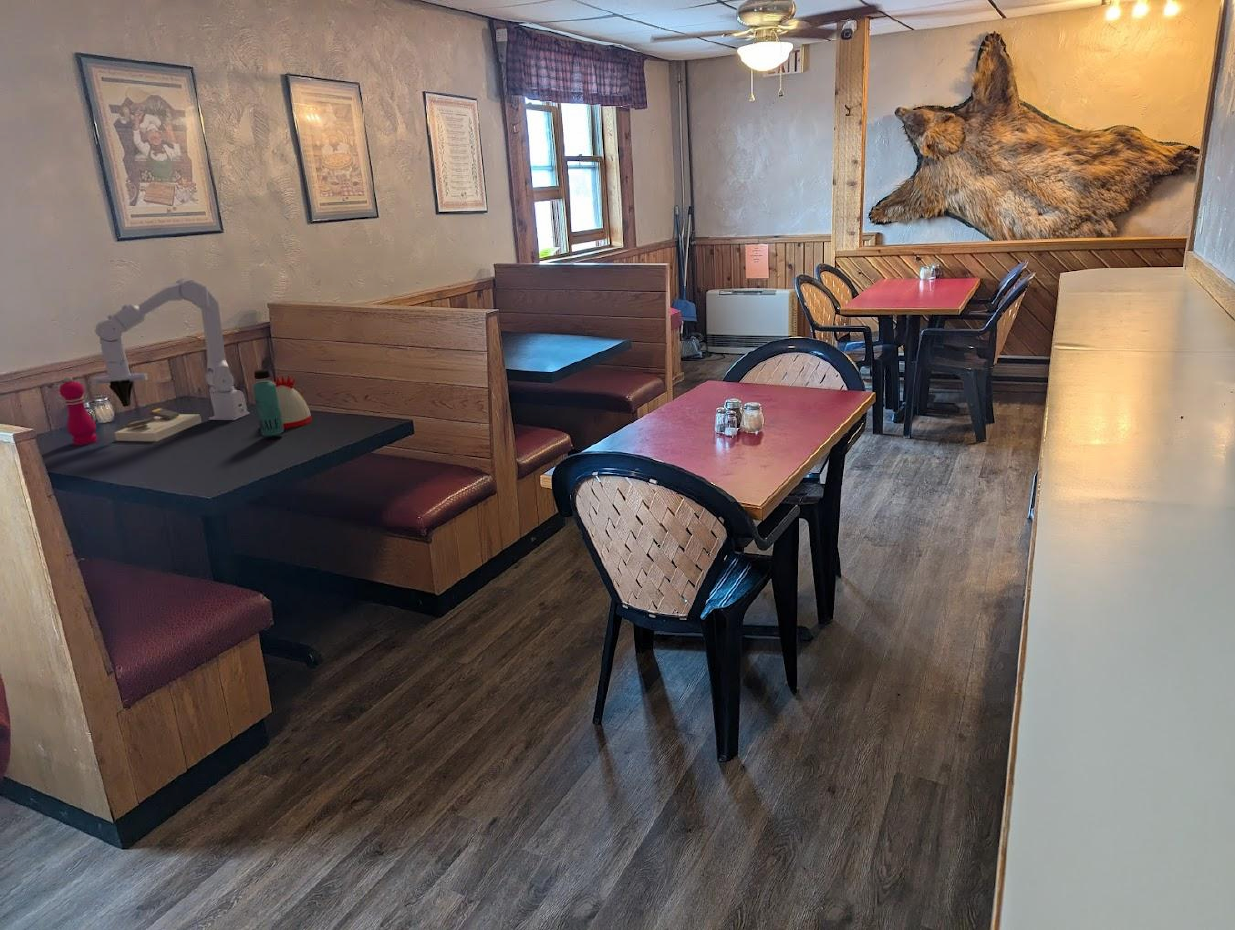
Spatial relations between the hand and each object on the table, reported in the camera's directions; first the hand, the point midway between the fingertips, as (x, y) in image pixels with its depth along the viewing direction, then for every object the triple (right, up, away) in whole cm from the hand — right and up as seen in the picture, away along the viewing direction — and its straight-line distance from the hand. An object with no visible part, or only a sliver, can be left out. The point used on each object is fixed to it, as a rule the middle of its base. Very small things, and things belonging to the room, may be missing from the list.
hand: (126, 405), depth 255 cm
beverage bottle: (+47, -10, -6) cm, 48 cm away
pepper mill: (-12, -11, -1) cm, 16 cm away
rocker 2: (+6, -2, +10) cm, 12 cm away
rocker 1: (+4, -5, +1) cm, 6 cm away
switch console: (+6, -7, +7) cm, 12 cm away
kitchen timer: (+45, -5, +9) cm, 46 cm away
